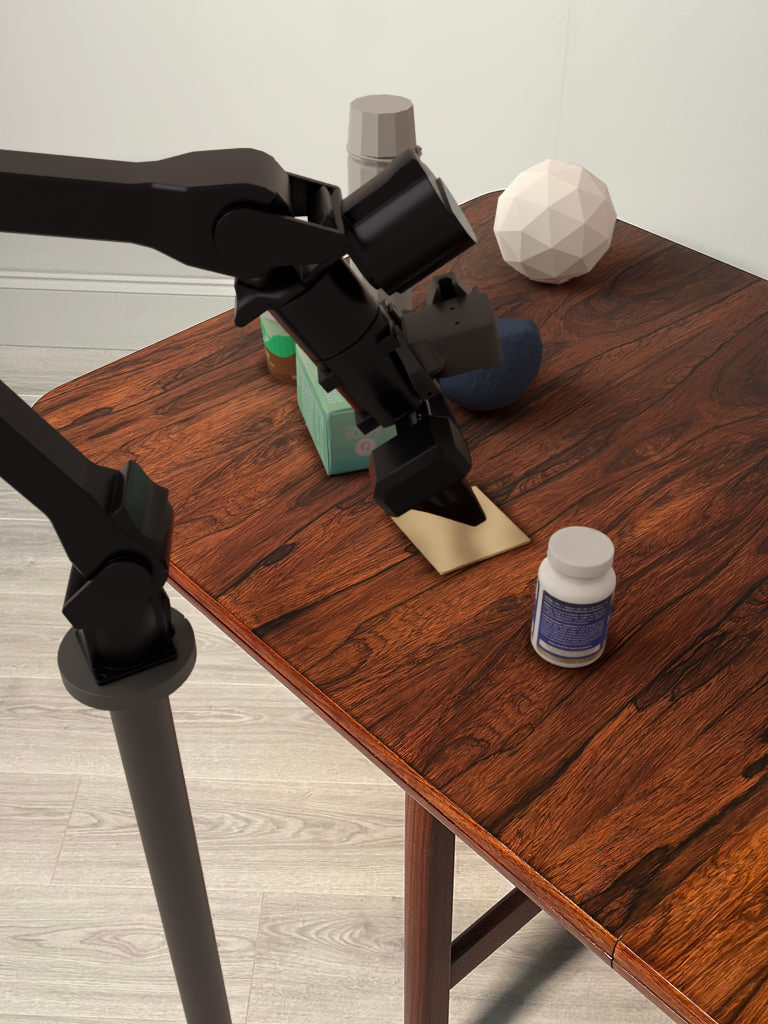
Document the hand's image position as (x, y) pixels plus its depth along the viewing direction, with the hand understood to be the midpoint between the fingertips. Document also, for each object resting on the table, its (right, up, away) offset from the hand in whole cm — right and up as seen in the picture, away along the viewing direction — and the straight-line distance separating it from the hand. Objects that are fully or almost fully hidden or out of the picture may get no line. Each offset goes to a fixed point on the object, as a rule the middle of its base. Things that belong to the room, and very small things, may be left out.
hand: (470, 482), depth 75 cm
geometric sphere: (+15, +28, +57) cm, 65 cm away
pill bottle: (+8, -12, +6) cm, 16 cm away
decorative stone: (+4, +9, +33) cm, 35 cm away
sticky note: (0, -4, +17) cm, 17 cm away
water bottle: (-6, +20, +47) cm, 52 cm away
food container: (-17, +14, +39) cm, 45 cm away
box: (-10, +5, +29) cm, 31 cm away
